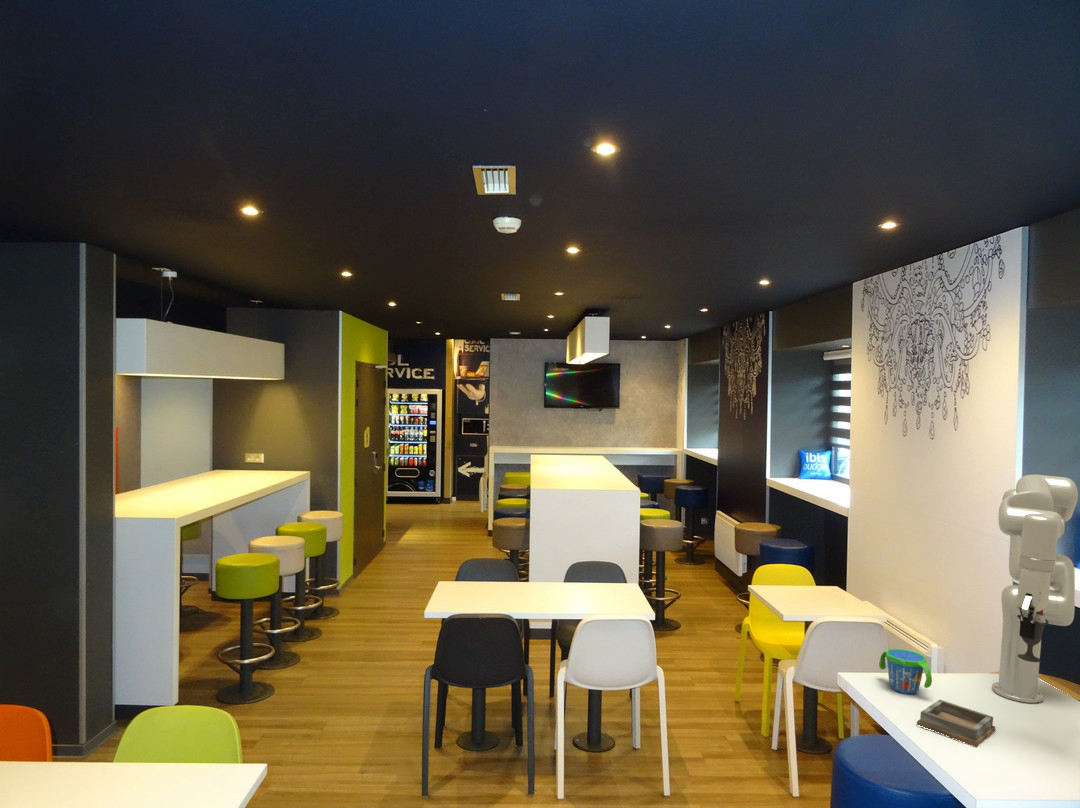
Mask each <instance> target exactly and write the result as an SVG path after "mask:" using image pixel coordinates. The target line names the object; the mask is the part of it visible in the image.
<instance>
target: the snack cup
mask: <svg viewBox="0 0 1080 808" xmlns="http://www.w3.org/2000/svg"><path fill="white" fill-rule="evenodd" d="M886 661H887V664H886ZM878 663H879V664H878V665H879V669H880V670H885V669H886V668H887V672H888V673H887V674H888V683H889V686H890V689H893V690H894V691H895V692H899V693H901V694H908V695H913V694H914V695H915V694H917V693H918V692H919V689H920V685H921V681H922V679H923V678H922V677H923V673H925V682H924V684H923V686H924V688H927V689H928V688H930V687H932V683H933V679H932V678H933V677H932V672H931V668H930V666H929V665H928V664H927V658H926V656H925V655H923V654H921V653H919V652H916V651H912V650H907V649H904V648H903V649H902V648H891V649H887V650H884V651H883V652H882V653H881V655H880V659H879V662H878ZM886 666H887V667H886Z"/></svg>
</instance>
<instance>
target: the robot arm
mask: <svg viewBox="0 0 1080 808" xmlns="http://www.w3.org/2000/svg"><path fill="white" fill-rule="evenodd" d="M1078 491H1079V490H1078V487H1077V485H1076V483H1075V482H1074V480H1072V479H1071V478H1069V477H1064V476H1055V475H1046V474H1045V475H1043V474H1025V475H1024V476H1022V477H1020V478H1019V479H1018V480H1017V482H1016V485H1015V488H1012V489H1008V490H1007V491H1005V492H1004V493H1003V495H1002V499H1001V500H1002V501H1001V503H1000V504H999V508H998V527H999V529H1000V532H1002V533H1003V534H1005V535H1007V536H1009V553H1008V554H1009V556H1008V557H1009V558H1008V570H1009V571H1008V572H1009V575H1010V577H1011V578H1012V579H1013V580H1015V581H1016V582H1018V584H1011V585H1007V586H1005V587H1004V588H1003V589H1002V591H1001V596H1000V597H1001V610H1002V631H1001V645H1000V656H999V657H1000V659H999V660H1000V661H999V669H998V670H999V671H998V672H999V673H998V681H996V682H994V683H992V684H991V690H992V691H993V692H994V693H996V694H997V695H999V696H1001V697H1004V698H1006V699H1009V700H1013V701H1015V702H1020V703H1027V704H1038V703H1037V702H1039V703H1041V701H1042V700H1043V701H1044V695H1043V693H1041V692H1040V691H1039V690H1038V688H1039V687H1038V686H1039V675H1040V674H1039V673H1040V672H1039V671H1040V662H1029V661H1025V660H1022V659H1020V658H1019V657H1018V655H1019V654H1025V653H1026V652H1027V644H1026V643H1025V642H1024V641H1023V639H1022V637H1025V638H1028V639H1035V630H1036V623H1034V622H1035V617H1036V612H1039V611H1041V610H1042V611H1043V613H1042V615H1043V616H1044V617H1045V619H1047V621H1048V624H1047V625H1052V626H1053V625H1055V626H1060V627H1066V626H1069V625H1071V624H1072V623H1073V621H1074V618H1075V607H1076V606H1075V605H1076V604H1075V598H1076V597H1075V594H1076V593H1075V590H1076V589H1075V587H1076V585H1075V584H1076V583H1075V580H1076V576H1075V574H1076V573H1075V567H1074V566H1075V565H1074V563H1073V561H1072V559H1071V558H1070V557H1069V556H1066V555H1063V554H1059V553H1057V547H1058V540H1059V539H1060V538H1061V536H1063V535H1064V533H1065V528H1066V525H1065V524H1066V522H1068V521H1069V520H1071V518H1072V516H1073V515H1074V511H1075V508H1076V506H1077V503H1078V499H1079V498H1078V497H1079V492H1078ZM1051 588H1052V589H1051ZM1020 608H1022V609H1021V611H1022V614H1020ZM1029 608H1034V610H1031V609H1029ZM1030 613H1032V617H1031V614H1030ZM1017 615H1021V620H1020V619H1019V618H1018V617H1017ZM1044 630H1045V628H1044V629H1043V632H1044ZM1041 648H1042V639H1041V640H1040V642H1039V643H1038V644H1036V645H1034V646H1033V655H1034V656H1035V657H1037V658H1039V659H1040V660H1041V658H1040V657H1041ZM1043 701H1042V702H1043Z"/></svg>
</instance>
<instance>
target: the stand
mask: <svg viewBox="0 0 1080 808" xmlns="http://www.w3.org/2000/svg"><path fill="white" fill-rule="evenodd" d="M993 722H994V716H991V715H988V714H986V713H982V712H980V711H977V710H973V709H970V708H967V707H963V706H961V705H958V704H955V703H953V702H952V703H951V702H949V701H946V700H942V699H938V700H936V701H935V702H934V703H932V704H931V705H929V706H928V707H926V708H925V709H923V710H922V711H920V718H919V720H917V721H916V726H917V725H920V726H923V727H925V728H928V729H931V730H934V731H936V732H939V733H942V734H944V735H947V736H949V737H951V738H950V739H952V738H954V739H953V740H955V739H957V740H960V741H962V742H961V743H963V742H965V743H964V744H966V743H968V744H967V745H969V744H970V745H969V746H971V745H973V746H972V747H974V746H976V747H975V748H978V747H979V746H980V745H981V744H983V742H985V741H986V740H987V739H989V737H991V736H992V735H993V734H994V733H995V732H996V727H997V726H994V725H993V724H994V723H993ZM994 731H995V732H994ZM993 732H994V733H993ZM992 733H993V734H992ZM991 734H992V735H991ZM949 737H948V738H949ZM985 739H986V740H985ZM957 740H956V741H957ZM984 740H985V741H984ZM960 741H959V742H960ZM979 744H980V745H979ZM978 745H979V746H978ZM977 746H978V747H977Z"/></svg>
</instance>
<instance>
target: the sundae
mask: <svg viewBox="0 0 1080 808" xmlns="http://www.w3.org/2000/svg"><path fill="white" fill-rule="evenodd" d="M1021 609H1022V608H1020V614H1022V611H1021ZM1029 609H1031V610H1034V608H1029ZM1042 613H1043V611H1042V610H1041V611H1039V612H1036V617H1035V622H1034V623H1036V630H1035V639H1028V638H1025V637H1022V639H1023V641H1024V642H1025V643H1026V644H1027V652H1026V653H1025V654H1019V655H1018V657H1019V658H1020V659H1022V660H1025V661H1029V662H1039V663H1041V662H1042V660H1041V658H1040V659H1039V658H1037V657H1035V656H1034V655H1033V646H1034V645H1036V644H1038V643H1039V642H1040V640H1041V641H1042V636H1043V633H1044V631H1043V629H1044V630H1045V626H1047V625H1049V624H1048V621H1047V619H1045V617H1044V616H1043V615H1042ZM1030 614H1031V617H1032V613H1030ZM1017 617H1018V618H1019V619H1020V620H1021V615H1017Z"/></svg>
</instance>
